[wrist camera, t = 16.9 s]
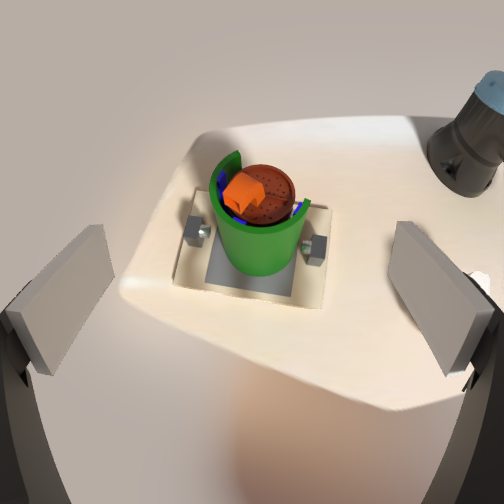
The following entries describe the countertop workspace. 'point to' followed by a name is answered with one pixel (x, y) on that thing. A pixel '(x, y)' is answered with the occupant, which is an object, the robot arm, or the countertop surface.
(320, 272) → the mount plate
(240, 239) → the green plastic cylinder
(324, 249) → the grey block with stub
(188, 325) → the countertop surface
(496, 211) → the countertop surface
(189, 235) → the knobbed dark grey block
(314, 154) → the countertop surface
